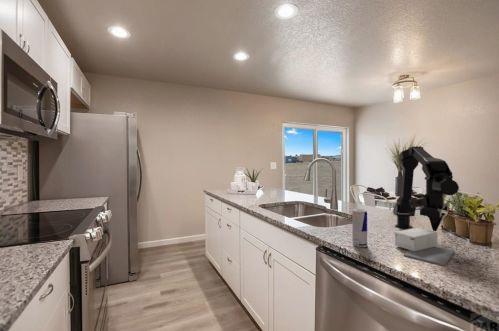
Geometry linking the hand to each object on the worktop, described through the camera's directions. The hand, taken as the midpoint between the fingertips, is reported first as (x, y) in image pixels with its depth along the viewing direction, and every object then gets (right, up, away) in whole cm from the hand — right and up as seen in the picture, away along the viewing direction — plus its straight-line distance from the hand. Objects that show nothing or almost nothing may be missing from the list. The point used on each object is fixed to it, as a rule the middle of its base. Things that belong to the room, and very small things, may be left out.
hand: (434, 230), depth 97 cm
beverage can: (-28, -8, +4) cm, 29 cm away
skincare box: (+1, -3, +5) cm, 6 cm away
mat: (-6, -7, -5) cm, 11 cm away
